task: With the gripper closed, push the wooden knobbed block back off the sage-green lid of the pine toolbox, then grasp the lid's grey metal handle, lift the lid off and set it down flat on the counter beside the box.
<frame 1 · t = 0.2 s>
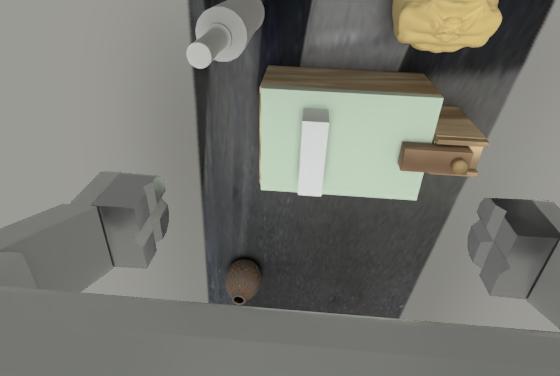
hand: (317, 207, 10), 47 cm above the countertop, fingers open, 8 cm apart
toolbox: (339, 115, 58), on the countertop
lid: (343, 144, 50), point 10 cm above the countertop, touching toolbox
bottle: (247, 11, 52), on the countertop
vase: (246, 265, 77), on the countertop
wooden knobbed block: (435, 160, 46), point 13 cm above the countertop, slide at 0.0 cm
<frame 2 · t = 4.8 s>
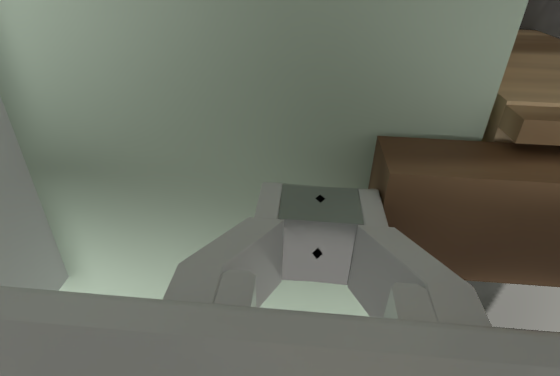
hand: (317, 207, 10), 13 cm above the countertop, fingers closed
toolbox: (199, 66, 21), on the countertop
lid: (120, 145, 12), point 10 cm above the countertop, touching toolbox
wooden knobbed block: (543, 228, 9), point 13 cm above the countertop, slide at 0.9 cm, touching gripper
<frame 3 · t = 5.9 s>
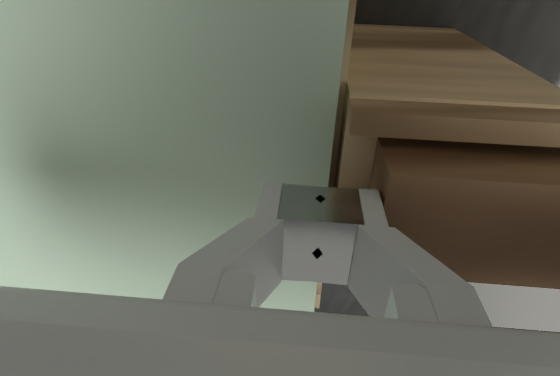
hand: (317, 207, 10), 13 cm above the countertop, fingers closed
toolbox: (128, 62, 21), on the countertop
lid: (5, 138, 13), point 10 cm above the countertop, touching toolbox
wooden knobbed block: (543, 230, 9), point 13 cm above the countertop, slide at 4.8 cm, touching gripper
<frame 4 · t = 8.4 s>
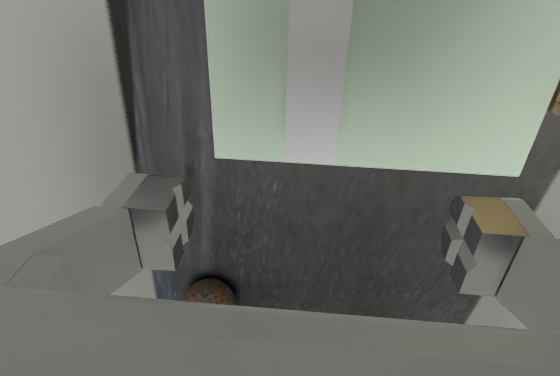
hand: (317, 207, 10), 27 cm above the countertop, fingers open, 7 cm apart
lid: (378, 58, 24), point 10 cm above the countertop, touching toolbox
vase: (214, 287, 51), on the countertop
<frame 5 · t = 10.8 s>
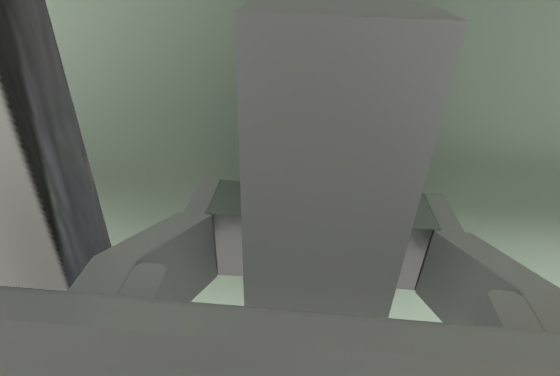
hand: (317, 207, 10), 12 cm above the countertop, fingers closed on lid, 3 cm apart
lid: (446, 172, 12), point 10 cm above the countertop, touching gripper, toolbox
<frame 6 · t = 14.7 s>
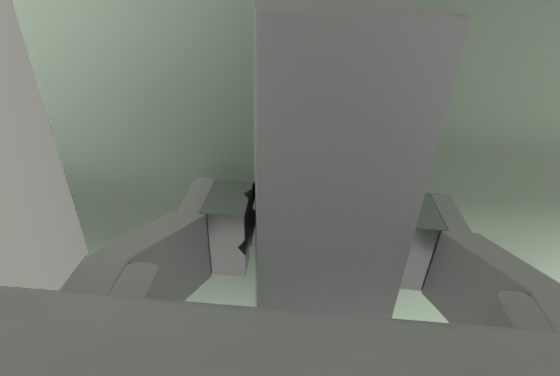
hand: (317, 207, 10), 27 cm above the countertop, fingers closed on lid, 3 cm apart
lid: (421, 161, 13), point 24 cm above the countertop, tilted 9°, touching gripper
when the fingers open (4 cm above the countertop, at t = 19.0 s): lid drops 2 cm, on the countertop.
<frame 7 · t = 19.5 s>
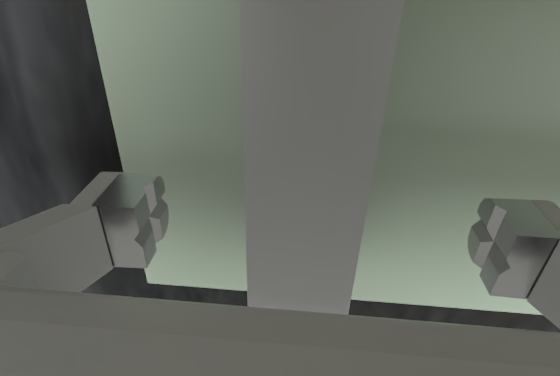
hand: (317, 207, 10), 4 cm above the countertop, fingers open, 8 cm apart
lid: (419, 138, 14), on the countertop
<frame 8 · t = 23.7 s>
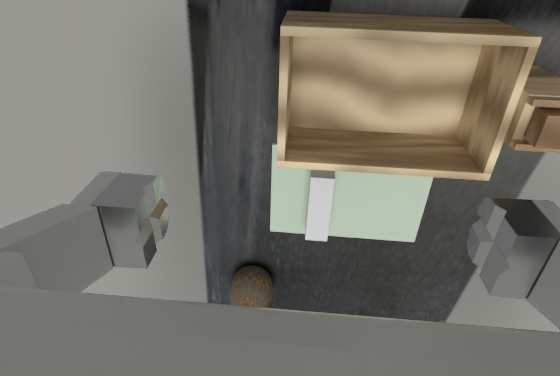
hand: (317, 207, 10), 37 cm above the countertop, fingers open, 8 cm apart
toolbox: (378, 79, 45), on the countertop
lid: (347, 191, 54), on the countertop
vase: (254, 273, 63), on the countertop
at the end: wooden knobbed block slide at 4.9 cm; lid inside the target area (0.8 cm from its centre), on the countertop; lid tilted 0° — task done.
